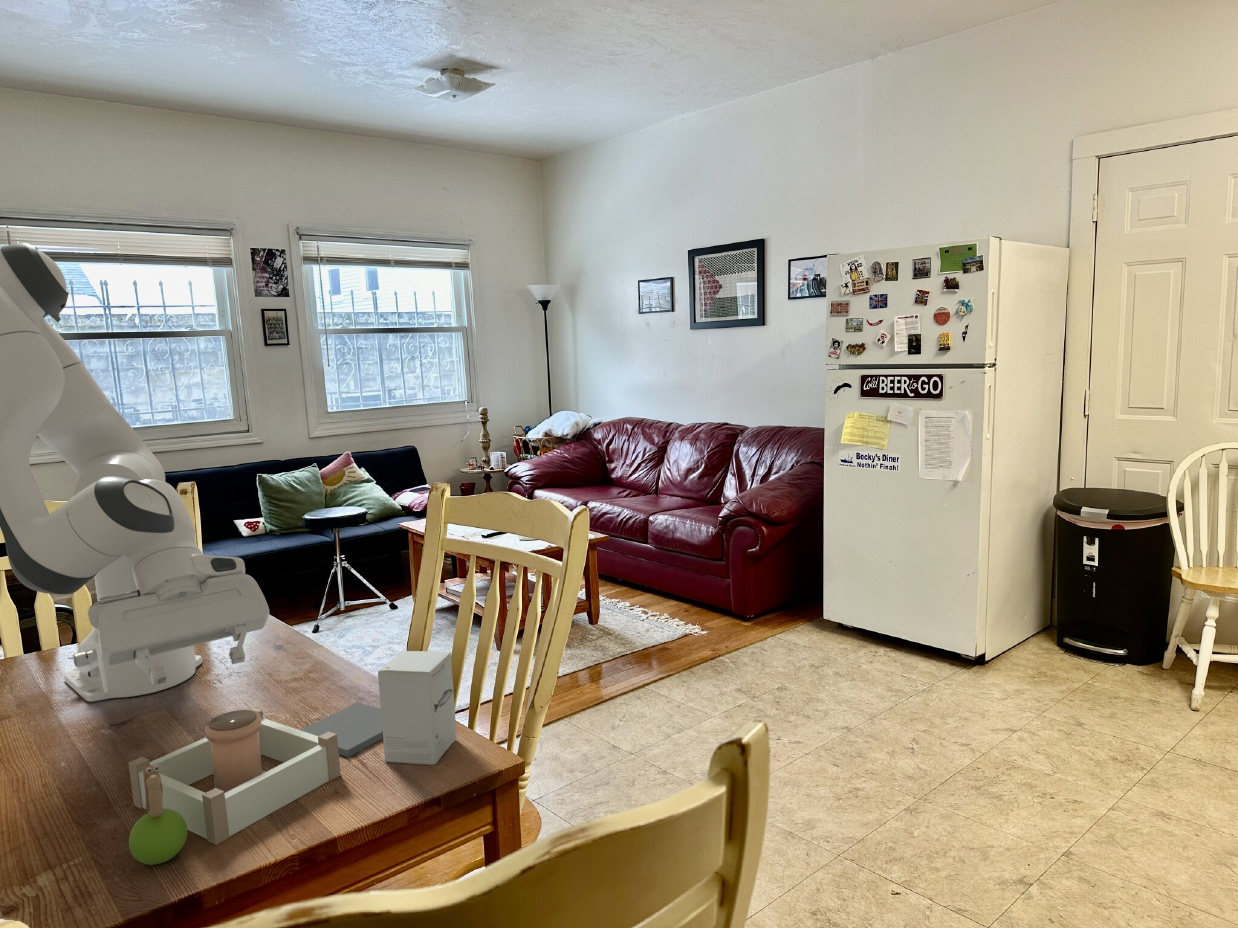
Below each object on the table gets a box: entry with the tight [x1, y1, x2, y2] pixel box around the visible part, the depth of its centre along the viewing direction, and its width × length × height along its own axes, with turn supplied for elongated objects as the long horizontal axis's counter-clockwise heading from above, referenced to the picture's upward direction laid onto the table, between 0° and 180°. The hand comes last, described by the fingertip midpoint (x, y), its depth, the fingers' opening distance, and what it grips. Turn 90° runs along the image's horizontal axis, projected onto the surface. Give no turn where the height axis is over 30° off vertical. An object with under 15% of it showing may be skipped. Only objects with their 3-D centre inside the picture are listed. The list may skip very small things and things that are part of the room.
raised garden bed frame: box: [128, 707, 342, 846], centre depth 101 cm, size 17×17×6 cm
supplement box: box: [377, 650, 458, 766], centre depth 109 cm, size 7×7×13 cm
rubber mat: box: [299, 702, 383, 758], centre depth 116 cm, size 11×11×1 cm
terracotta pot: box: [204, 709, 264, 793], centre depth 101 cm, size 6×6×9 cm
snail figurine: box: [128, 765, 188, 865], centre depth 87 cm, size 5×6×12 cm
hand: (200, 671), depth 106 cm, fingers open, 8 cm apart
